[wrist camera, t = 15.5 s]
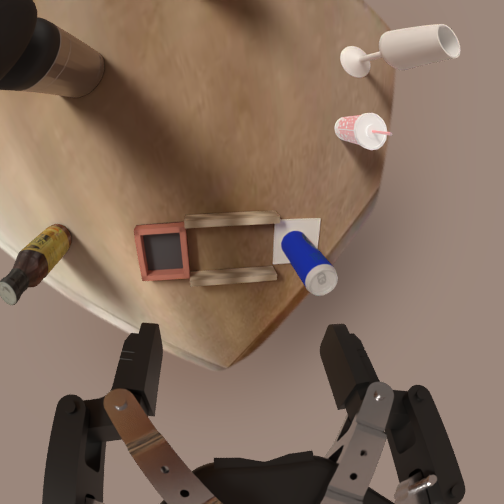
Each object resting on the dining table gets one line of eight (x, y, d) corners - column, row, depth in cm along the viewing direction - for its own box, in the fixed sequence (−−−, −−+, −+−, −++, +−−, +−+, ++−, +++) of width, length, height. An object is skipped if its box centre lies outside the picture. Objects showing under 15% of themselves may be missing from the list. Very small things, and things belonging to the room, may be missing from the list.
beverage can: (309, 247, 54) (342, 287, 41) (285, 258, 54) (312, 302, 41) (300, 225, 52) (335, 261, 39) (276, 236, 52) (303, 277, 39)
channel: (190, 276, 53) (190, 286, 50) (185, 215, 48) (184, 221, 45) (272, 271, 56) (276, 280, 52) (275, 210, 50) (280, 216, 47)
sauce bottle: (64, 217, 43) (8, 267, 25) (77, 245, 46) (31, 305, 28) (41, 229, 43) (-14, 280, 25) (55, 256, 46) (8, 315, 28)
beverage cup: (359, 145, 47) (405, 155, 35) (331, 144, 47) (373, 153, 34) (359, 114, 45) (406, 116, 32) (330, 111, 44) (374, 110, 31)
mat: (272, 263, 55) (273, 264, 54) (274, 219, 51) (275, 220, 51) (315, 260, 56) (315, 260, 56) (319, 218, 52) (320, 218, 52)
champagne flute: (342, 41, 38) (430, 7, 16) (372, 53, 39) (464, 35, 18) (337, 70, 40) (430, 48, 19) (368, 82, 42) (464, 74, 21)
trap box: (144, 274, 51) (142, 280, 49) (136, 225, 47) (133, 230, 44) (190, 271, 52) (189, 278, 50) (185, 221, 48) (185, 226, 46)
